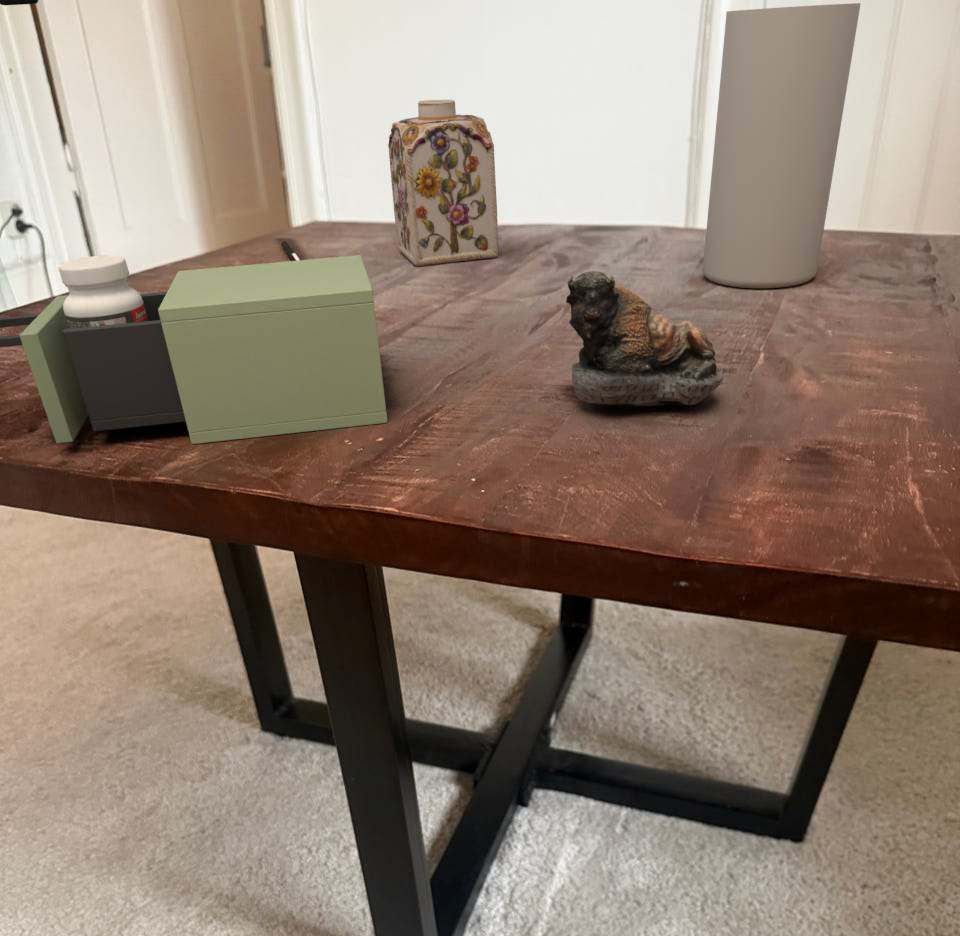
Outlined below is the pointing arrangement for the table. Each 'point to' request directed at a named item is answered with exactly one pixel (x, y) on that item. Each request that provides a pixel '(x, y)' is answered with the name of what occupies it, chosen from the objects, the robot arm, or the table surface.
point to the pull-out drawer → (99, 370)
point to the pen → (289, 251)
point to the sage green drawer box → (274, 348)
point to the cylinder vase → (776, 142)
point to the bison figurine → (635, 349)
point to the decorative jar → (443, 186)
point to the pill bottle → (100, 292)
